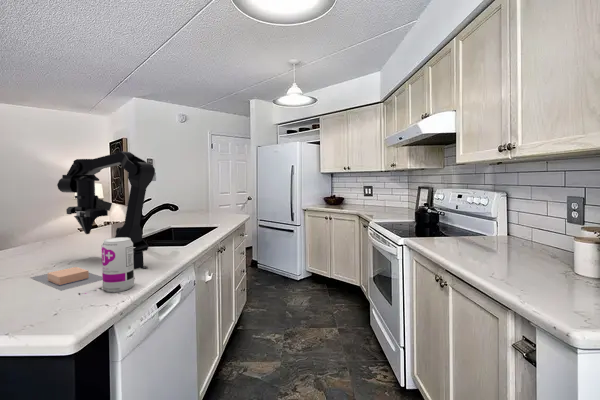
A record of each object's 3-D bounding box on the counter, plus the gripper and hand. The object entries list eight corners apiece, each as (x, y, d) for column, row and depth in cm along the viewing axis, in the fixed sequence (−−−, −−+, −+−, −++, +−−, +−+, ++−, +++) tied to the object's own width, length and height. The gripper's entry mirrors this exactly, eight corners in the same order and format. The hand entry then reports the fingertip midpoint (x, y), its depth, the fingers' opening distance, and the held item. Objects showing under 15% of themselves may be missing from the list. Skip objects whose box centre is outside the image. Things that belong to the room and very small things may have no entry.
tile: (76, 274, 105) (88, 278, 101) (47, 281, 98) (59, 286, 94) (76, 266, 105) (88, 270, 101) (47, 272, 98) (59, 277, 94)
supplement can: (112, 295, 90) (110, 243, 89) (97, 289, 95) (95, 240, 94) (139, 286, 97) (138, 238, 96) (124, 282, 102) (123, 236, 101)
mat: (108, 281, 102) (107, 278, 102) (61, 293, 91) (61, 290, 91) (74, 270, 113) (74, 268, 113) (29, 280, 102) (29, 277, 102)
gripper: (121, 193, 121) (122, 233, 122) (96, 191, 131) (97, 228, 132) (89, 194, 111) (91, 237, 113) (64, 192, 121) (66, 232, 122)
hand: (87, 233), depth 120 cm, fingers closed
